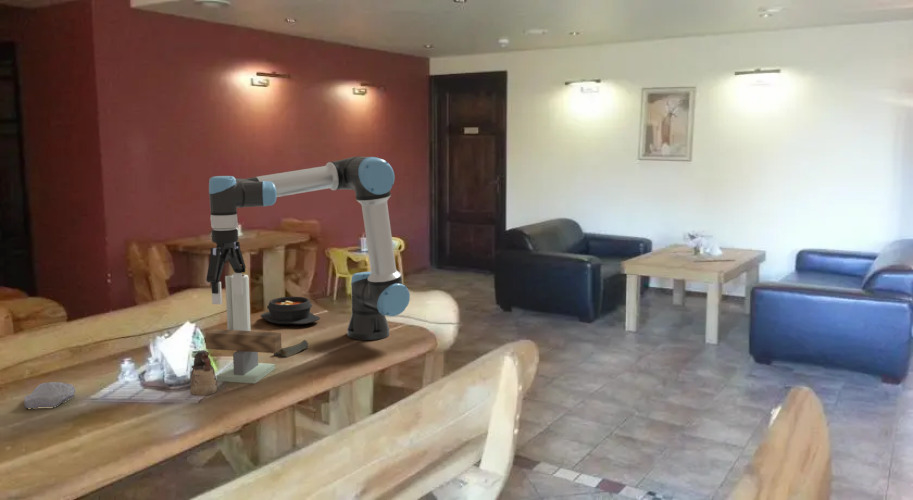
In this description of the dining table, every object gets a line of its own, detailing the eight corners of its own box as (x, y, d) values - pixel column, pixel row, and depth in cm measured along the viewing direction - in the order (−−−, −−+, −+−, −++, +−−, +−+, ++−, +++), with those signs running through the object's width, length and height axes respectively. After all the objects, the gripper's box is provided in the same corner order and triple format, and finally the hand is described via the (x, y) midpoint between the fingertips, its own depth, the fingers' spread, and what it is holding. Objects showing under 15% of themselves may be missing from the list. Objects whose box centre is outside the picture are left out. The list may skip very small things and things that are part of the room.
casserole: (330, 321, 287) (330, 300, 286) (296, 332, 271) (296, 309, 270) (284, 312, 300) (283, 292, 299) (249, 322, 284) (248, 301, 283)
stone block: (77, 400, 207) (40, 394, 205) (80, 383, 206) (42, 378, 205) (60, 417, 195) (20, 411, 194) (63, 400, 194) (22, 394, 193)
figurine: (210, 385, 214) (208, 345, 212) (222, 391, 209) (220, 350, 207) (186, 391, 209) (184, 350, 207) (197, 397, 204) (195, 355, 202)
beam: (281, 348, 222) (281, 332, 222) (275, 353, 218) (274, 336, 217) (213, 344, 226) (212, 328, 225) (206, 348, 222) (205, 332, 221)
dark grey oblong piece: (281, 359, 239) (281, 348, 239) (273, 356, 243) (272, 345, 242) (314, 351, 249) (314, 341, 248) (305, 348, 252) (305, 338, 252)
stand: (274, 368, 229) (274, 343, 228) (254, 383, 215) (253, 357, 214) (238, 366, 231) (237, 341, 230) (216, 380, 218) (215, 354, 216)
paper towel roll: (254, 332, 270) (252, 275, 266) (241, 336, 265) (238, 277, 261) (240, 329, 274) (238, 272, 270) (227, 333, 268) (225, 275, 265)
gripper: (232, 223, 232) (235, 289, 235) (191, 234, 207) (195, 308, 211) (254, 223, 231) (257, 290, 234) (216, 234, 206) (219, 309, 210)
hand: (228, 298), depth 222 cm, fingers open, 13 cm apart
